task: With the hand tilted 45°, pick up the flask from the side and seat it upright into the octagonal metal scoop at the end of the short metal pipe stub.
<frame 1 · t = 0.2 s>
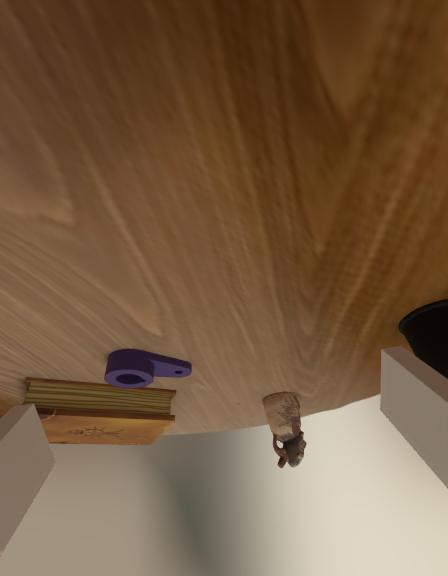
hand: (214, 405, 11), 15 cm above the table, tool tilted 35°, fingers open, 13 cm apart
diary: (102, 399, 54), on the table
aerosol can: (431, 316, 37), on the table
figurine: (280, 397, 58), on the table
lever: (152, 359, 42), on the table
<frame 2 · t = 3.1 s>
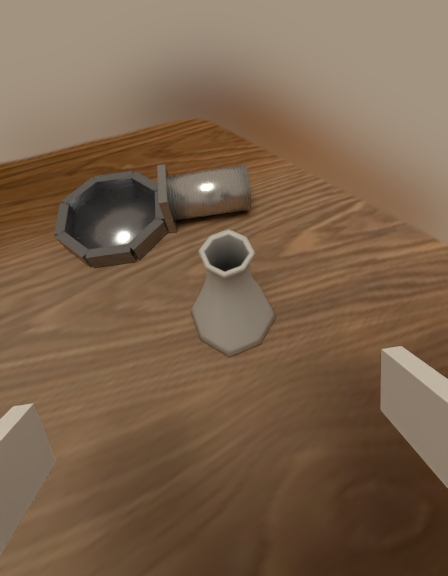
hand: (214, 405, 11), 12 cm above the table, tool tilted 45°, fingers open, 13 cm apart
flask: (232, 316, 26), on the table
octagonal metal scoop: (117, 222, 32), on the table
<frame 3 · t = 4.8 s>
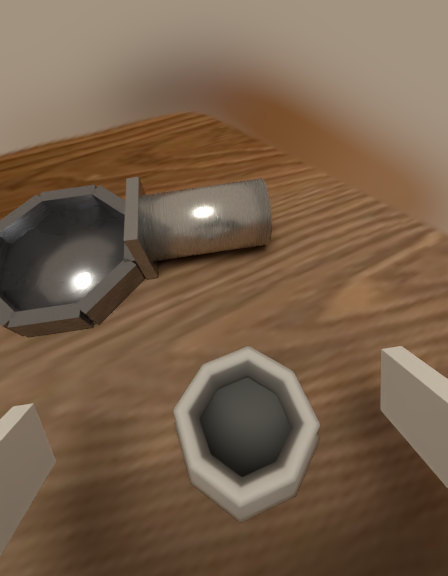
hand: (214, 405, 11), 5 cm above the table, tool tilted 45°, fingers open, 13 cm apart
flask: (245, 431, 16), on the table
octagonal metal scoop: (71, 260, 21), on the table
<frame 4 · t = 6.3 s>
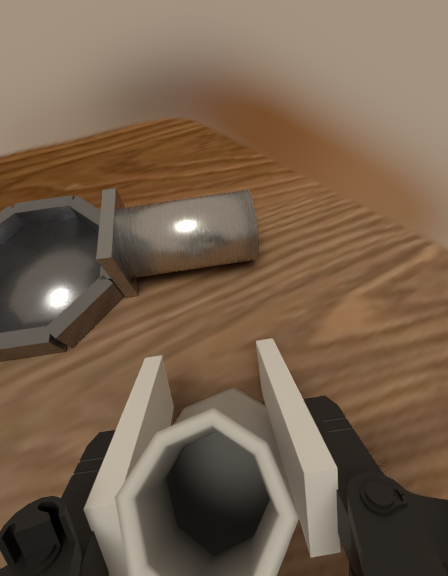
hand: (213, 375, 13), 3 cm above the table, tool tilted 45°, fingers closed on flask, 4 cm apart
flask: (229, 468, 14), on the table, touching gripper
octagonal metal scoop: (45, 276, 20), on the table
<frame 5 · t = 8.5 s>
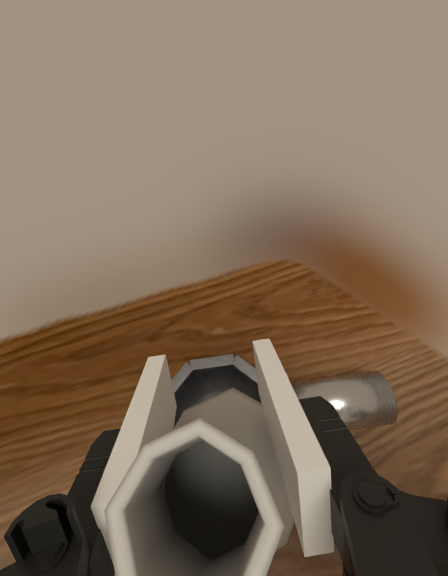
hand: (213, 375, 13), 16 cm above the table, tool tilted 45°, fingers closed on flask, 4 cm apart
flask: (230, 469, 14), point 13 cm above the table, touching gripper
octagonal metal scoop: (219, 421, 27), on the table
when the fingers open (6 cm above the table, at t = 10.8 s): flask drops 2 cm, resting on octagonal metal scoop.
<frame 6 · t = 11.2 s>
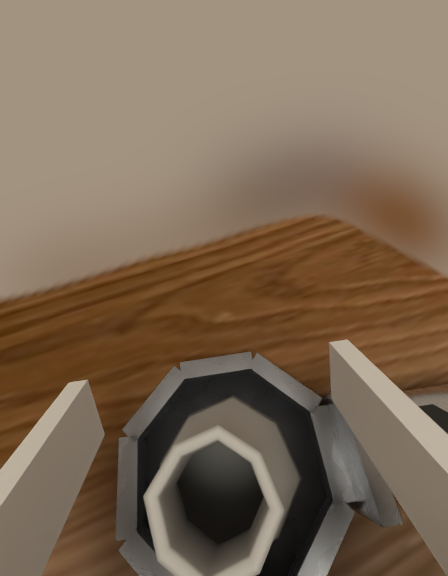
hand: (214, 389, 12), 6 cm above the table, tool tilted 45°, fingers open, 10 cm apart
flask: (229, 470, 16), resting on octagonal metal scoop
octagonal metal scoop: (230, 465, 16), on the table
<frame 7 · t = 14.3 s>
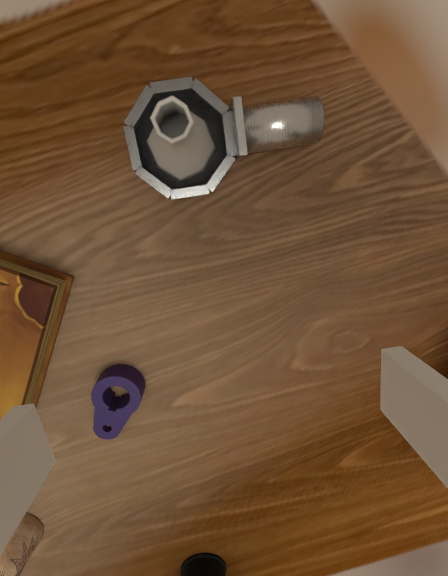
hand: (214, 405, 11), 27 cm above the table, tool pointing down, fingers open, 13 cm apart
flask: (181, 146, 32), resting on octagonal metal scoop
aerosol can: (203, 567, 52), on the table
figurine: (21, 526, 46), on the table
lever: (117, 398, 41), on the table
octagonal metal scoop: (182, 144, 32), on the table
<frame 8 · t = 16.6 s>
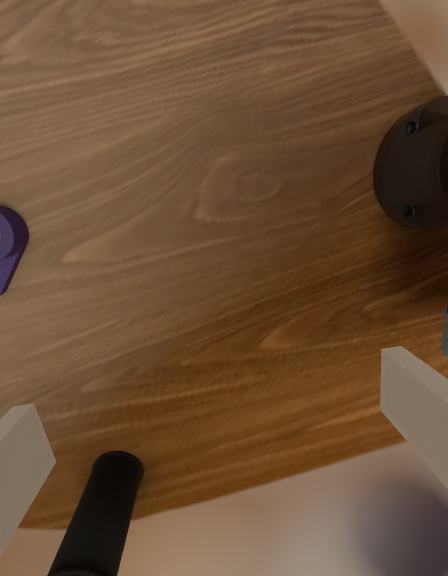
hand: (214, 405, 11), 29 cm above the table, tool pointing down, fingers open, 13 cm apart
aerosol can: (118, 469, 47), on the table
lever: (0, 252, 37), on the table
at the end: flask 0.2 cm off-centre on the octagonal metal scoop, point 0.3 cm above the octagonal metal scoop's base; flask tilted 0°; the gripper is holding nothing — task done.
